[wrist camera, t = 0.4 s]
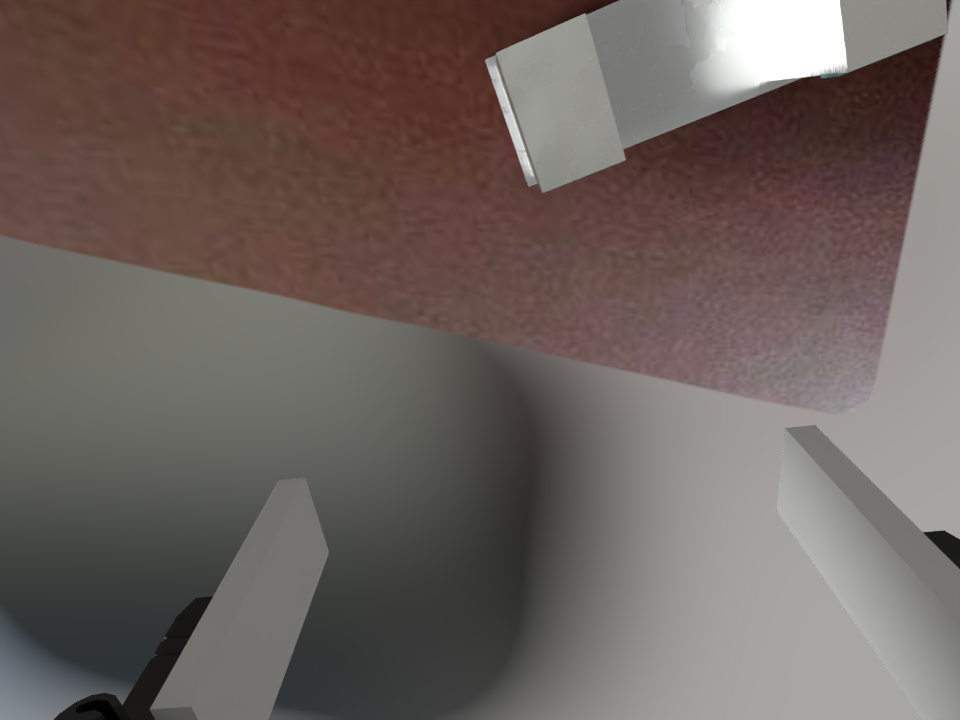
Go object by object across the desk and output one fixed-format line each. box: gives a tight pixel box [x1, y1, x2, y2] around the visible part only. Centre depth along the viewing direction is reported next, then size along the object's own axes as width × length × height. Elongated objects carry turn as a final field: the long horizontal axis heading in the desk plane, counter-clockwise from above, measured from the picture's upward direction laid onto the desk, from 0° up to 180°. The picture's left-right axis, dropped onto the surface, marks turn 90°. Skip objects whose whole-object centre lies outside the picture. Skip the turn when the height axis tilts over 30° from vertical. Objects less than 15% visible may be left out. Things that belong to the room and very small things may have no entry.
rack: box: [485, 0, 948, 193], centre depth 31 cm, size 8×21×9 cm, turn 111°
